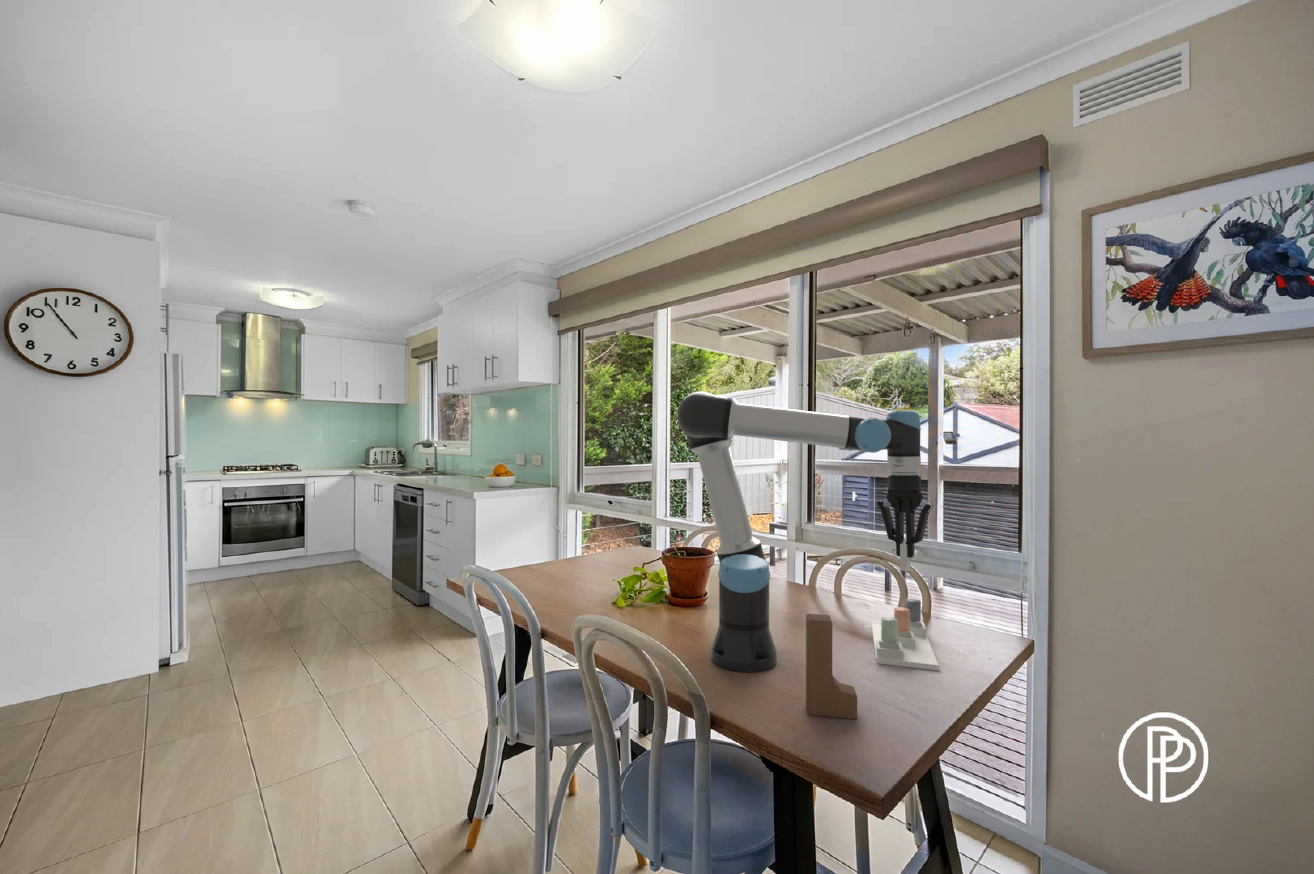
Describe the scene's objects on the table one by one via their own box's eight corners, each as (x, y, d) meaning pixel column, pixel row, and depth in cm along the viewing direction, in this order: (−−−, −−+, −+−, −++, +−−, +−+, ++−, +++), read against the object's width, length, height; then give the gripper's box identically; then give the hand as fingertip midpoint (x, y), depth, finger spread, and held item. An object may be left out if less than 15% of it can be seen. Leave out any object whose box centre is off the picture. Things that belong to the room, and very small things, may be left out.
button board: (876, 663, 132) (876, 649, 132) (871, 627, 156) (871, 616, 156) (938, 670, 128) (938, 656, 128) (923, 633, 152) (923, 621, 152)
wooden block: (853, 708, 110) (854, 615, 110) (857, 720, 106) (857, 623, 106) (805, 704, 112) (806, 613, 112) (807, 715, 107) (807, 620, 107)
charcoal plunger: (906, 621, 148) (906, 601, 148) (904, 616, 152) (905, 598, 152) (921, 622, 147) (921, 603, 147) (919, 618, 150) (919, 599, 150)
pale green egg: (881, 642, 133) (881, 620, 133) (880, 636, 137) (880, 616, 137) (898, 643, 132) (898, 622, 132) (897, 638, 136) (897, 617, 135)
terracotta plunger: (894, 631, 141) (894, 610, 141) (893, 626, 144) (893, 606, 144) (910, 632, 140) (910, 612, 140) (908, 627, 143) (909, 607, 143)
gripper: (871, 473, 141) (872, 568, 142) (926, 475, 133) (928, 577, 133) (883, 471, 147) (884, 563, 147) (937, 473, 138) (938, 571, 138)
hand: (905, 569), depth 140 cm, fingers closed
